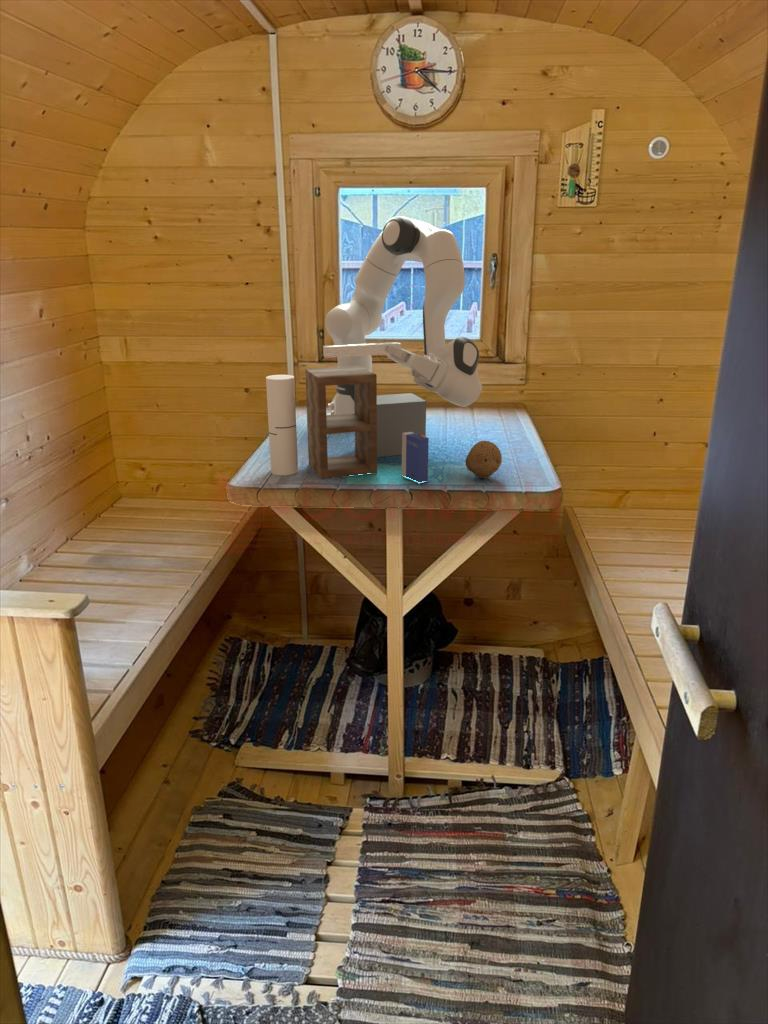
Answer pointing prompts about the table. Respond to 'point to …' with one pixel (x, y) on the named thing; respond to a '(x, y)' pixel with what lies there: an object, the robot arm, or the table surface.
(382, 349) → the tan bar
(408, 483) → the table surface
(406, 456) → the walkman
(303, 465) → the table surface
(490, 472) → the natural sponge
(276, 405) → the cylindrical container
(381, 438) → the block
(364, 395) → the walnut shelf
